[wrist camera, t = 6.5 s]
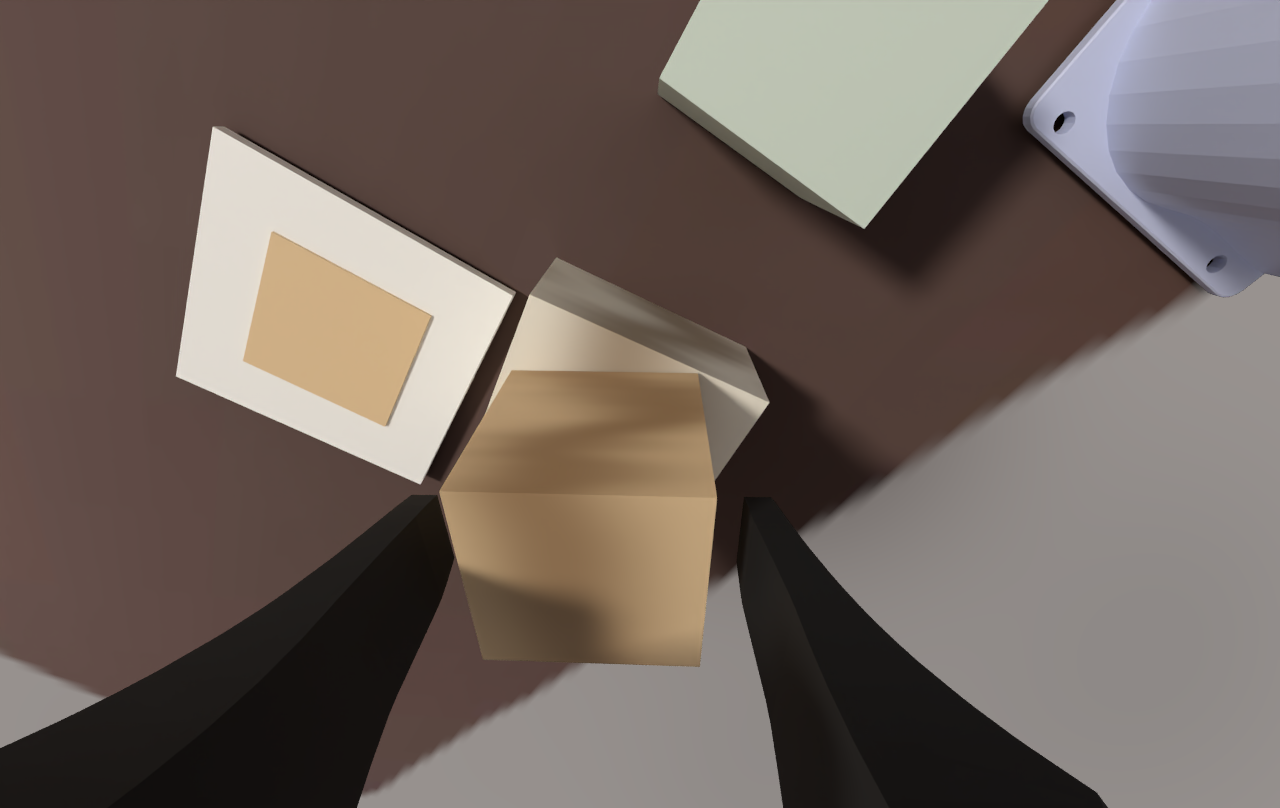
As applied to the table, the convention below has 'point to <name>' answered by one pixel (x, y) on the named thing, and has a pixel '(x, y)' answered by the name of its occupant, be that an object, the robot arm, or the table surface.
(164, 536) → the table surface
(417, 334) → the card
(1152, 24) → the robot arm
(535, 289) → the base block
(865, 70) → the sage cube
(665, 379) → the oak cube
